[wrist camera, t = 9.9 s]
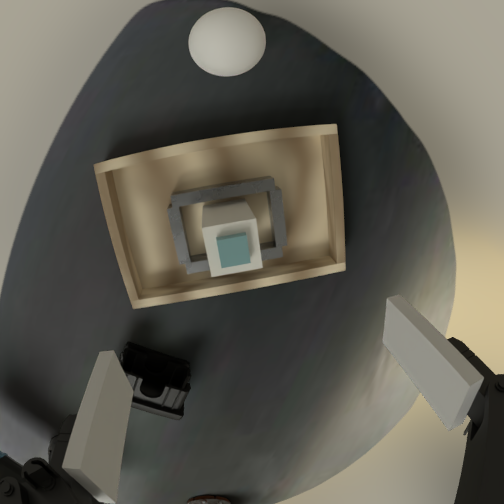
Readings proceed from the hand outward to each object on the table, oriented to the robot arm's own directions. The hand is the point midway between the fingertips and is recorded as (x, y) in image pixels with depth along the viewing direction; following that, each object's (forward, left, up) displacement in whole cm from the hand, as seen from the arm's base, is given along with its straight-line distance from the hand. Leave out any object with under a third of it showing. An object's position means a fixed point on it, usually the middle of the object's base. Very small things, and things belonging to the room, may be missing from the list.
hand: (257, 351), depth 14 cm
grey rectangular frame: (0, 0, -21) cm, 21 cm away
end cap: (-14, -19, -23) cm, 33 cm away
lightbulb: (+2, +17, -22) cm, 28 cm away
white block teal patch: (0, 0, -21) cm, 21 cm away
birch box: (0, +1, -22) cm, 22 cm away
